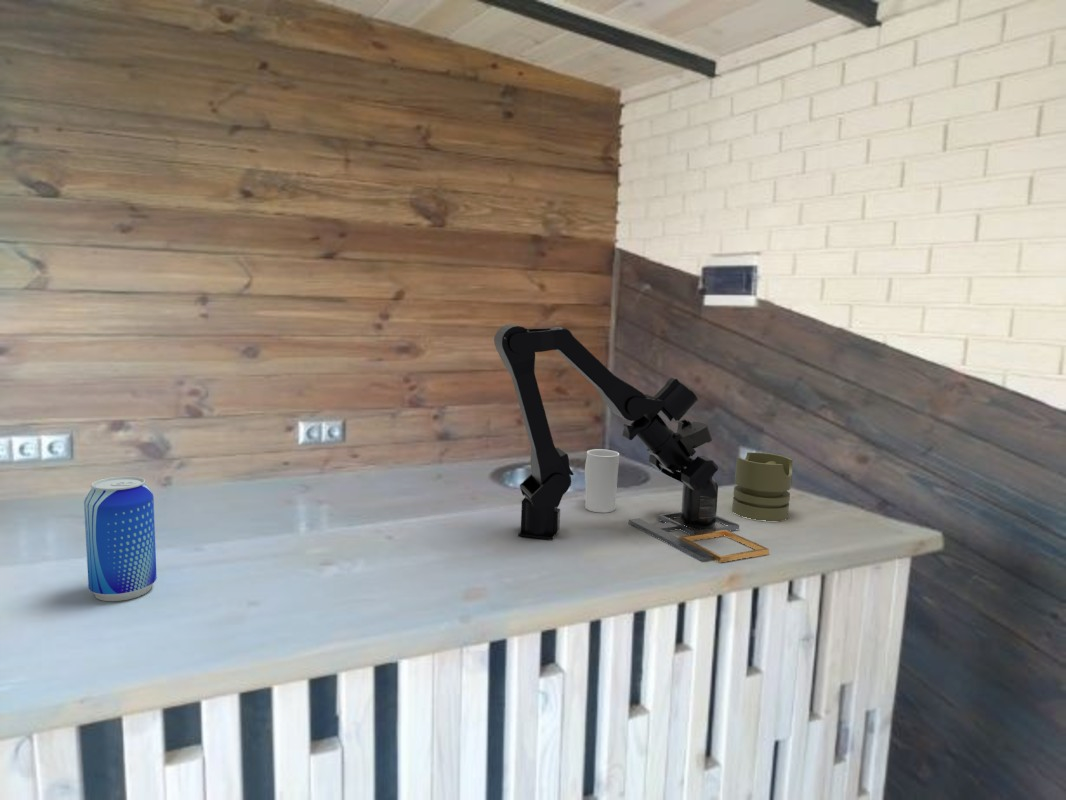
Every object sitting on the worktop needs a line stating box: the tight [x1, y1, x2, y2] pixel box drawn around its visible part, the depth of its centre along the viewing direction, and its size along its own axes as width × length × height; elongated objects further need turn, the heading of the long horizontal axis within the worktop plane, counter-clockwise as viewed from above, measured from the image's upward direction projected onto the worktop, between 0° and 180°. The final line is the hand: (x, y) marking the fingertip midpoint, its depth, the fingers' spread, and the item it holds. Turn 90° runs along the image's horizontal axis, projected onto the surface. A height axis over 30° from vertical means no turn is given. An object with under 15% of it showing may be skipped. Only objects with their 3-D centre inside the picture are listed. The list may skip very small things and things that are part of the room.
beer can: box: [83, 475, 158, 602], centre depth 101 cm, size 8×8×16 cm
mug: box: [584, 448, 620, 514], centre depth 152 cm, size 10×7×12 cm, turn 25°
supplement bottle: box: [680, 473, 719, 530], centre depth 142 cm, size 7×7×12 cm
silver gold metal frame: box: [628, 511, 770, 564], centre depth 136 cm, size 18×24×1 cm
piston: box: [731, 451, 794, 522], centre depth 151 cm, size 11×12×11 cm
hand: (706, 492), depth 142 cm, fingers closed on supplement bottle, 7 cm apart
